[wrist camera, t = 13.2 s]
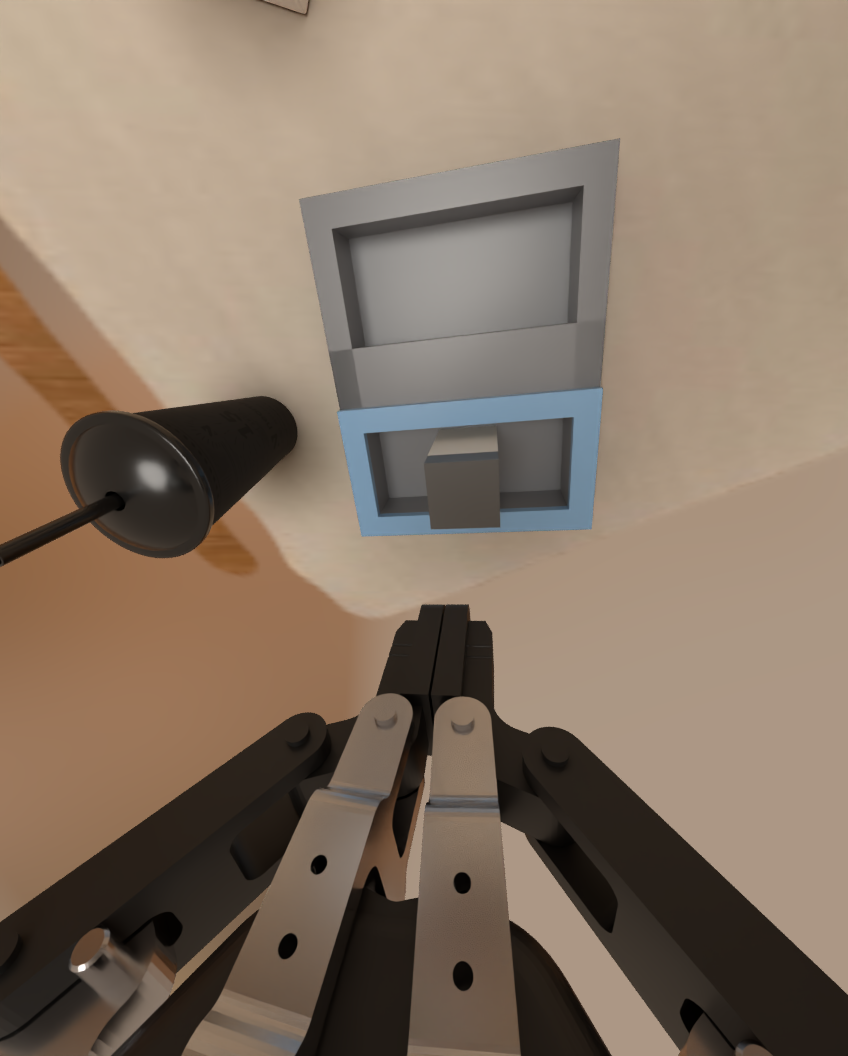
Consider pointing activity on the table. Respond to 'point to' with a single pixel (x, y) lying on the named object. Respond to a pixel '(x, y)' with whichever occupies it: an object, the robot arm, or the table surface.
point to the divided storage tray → (470, 329)
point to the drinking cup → (163, 473)
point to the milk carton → (292, 4)
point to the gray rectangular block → (463, 479)
